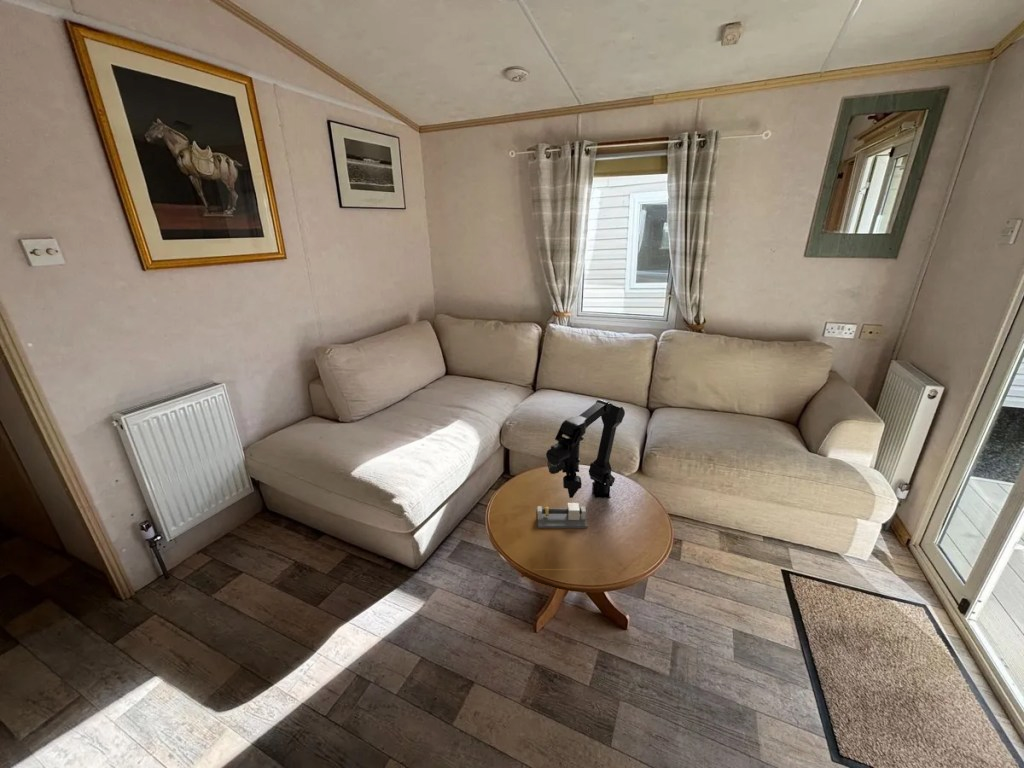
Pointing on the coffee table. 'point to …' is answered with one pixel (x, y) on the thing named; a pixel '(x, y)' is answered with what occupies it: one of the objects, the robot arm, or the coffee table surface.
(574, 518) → the sleeve
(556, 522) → the grey rod slide mechanism
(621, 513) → the coffee table surface
